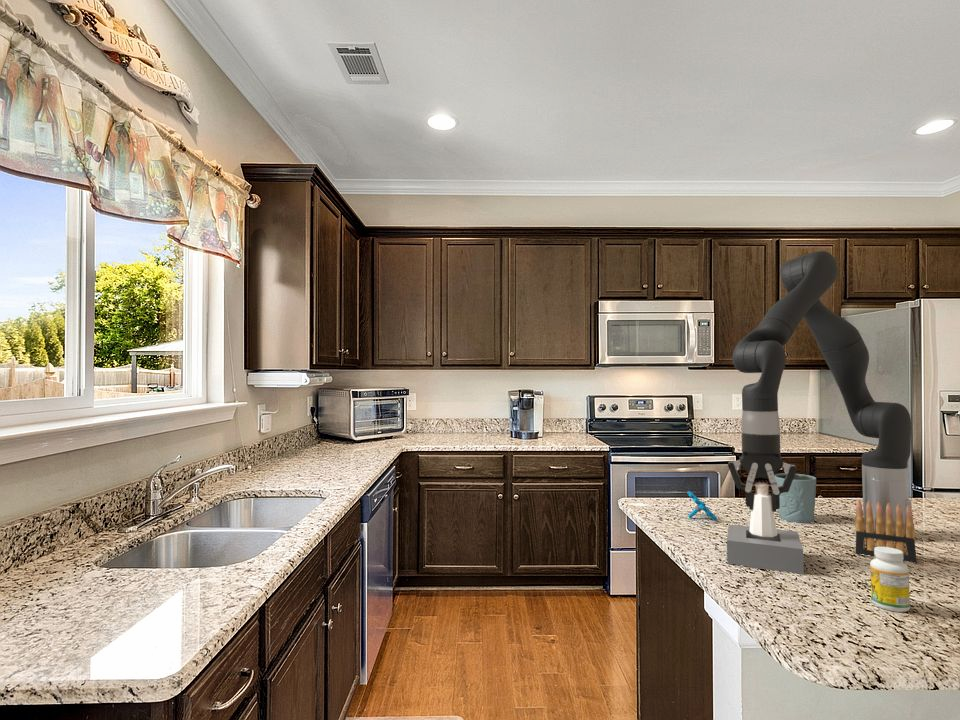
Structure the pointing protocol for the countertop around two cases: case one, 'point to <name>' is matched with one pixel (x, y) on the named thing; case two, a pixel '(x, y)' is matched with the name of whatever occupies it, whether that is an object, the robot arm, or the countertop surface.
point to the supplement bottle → (889, 580)
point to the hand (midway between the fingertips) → (762, 509)
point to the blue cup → (797, 499)
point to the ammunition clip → (888, 538)
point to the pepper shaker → (762, 512)
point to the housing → (765, 550)
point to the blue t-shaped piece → (700, 507)
